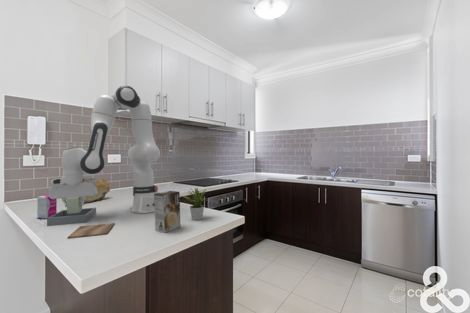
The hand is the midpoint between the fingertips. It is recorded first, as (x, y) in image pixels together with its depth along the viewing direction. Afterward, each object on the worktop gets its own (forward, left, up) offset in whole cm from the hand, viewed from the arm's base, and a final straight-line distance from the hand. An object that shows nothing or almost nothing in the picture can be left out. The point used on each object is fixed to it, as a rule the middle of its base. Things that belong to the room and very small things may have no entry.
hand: (74, 205), depth 115 cm
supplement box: (+15, -9, -7) cm, 19 cm away
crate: (0, 0, -7) cm, 7 cm away
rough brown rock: (+7, -51, -7) cm, 52 cm away
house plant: (-61, +19, -7) cm, 64 cm away
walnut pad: (-15, +23, -7) cm, 28 cm away
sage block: (0, 0, -3) cm, 3 cm away
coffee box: (-46, +31, -7) cm, 56 cm away
